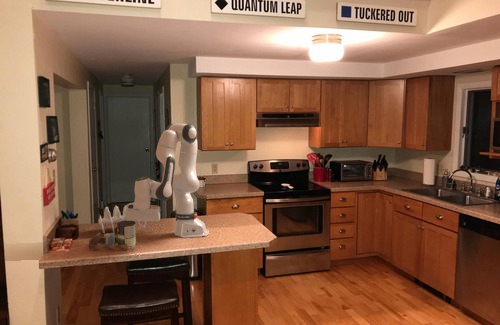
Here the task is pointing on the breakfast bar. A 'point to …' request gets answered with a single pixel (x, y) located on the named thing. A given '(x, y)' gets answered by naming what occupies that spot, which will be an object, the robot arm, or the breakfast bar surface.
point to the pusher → (110, 238)
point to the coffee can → (126, 233)
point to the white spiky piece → (111, 218)
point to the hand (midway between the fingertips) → (142, 228)
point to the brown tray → (98, 239)
